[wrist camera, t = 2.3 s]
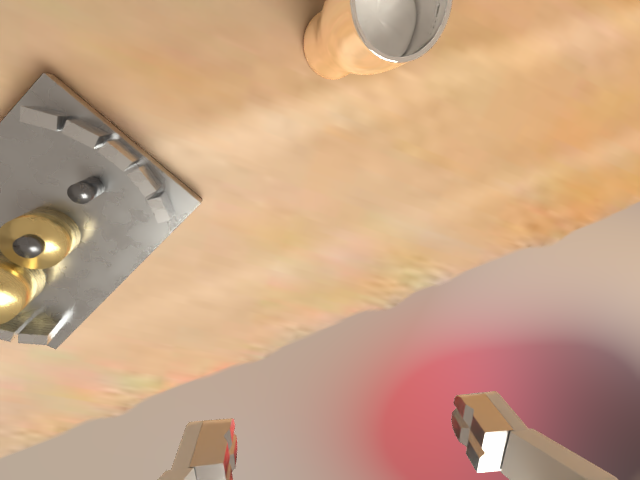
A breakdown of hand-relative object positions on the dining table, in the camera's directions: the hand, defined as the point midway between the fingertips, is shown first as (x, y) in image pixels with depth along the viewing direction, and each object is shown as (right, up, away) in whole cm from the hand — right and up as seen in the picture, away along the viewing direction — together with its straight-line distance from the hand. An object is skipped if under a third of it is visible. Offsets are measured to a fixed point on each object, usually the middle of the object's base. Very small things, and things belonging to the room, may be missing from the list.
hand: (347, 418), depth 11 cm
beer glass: (0, +26, +20) cm, 33 cm away
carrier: (-28, +8, +20) cm, 35 cm away
